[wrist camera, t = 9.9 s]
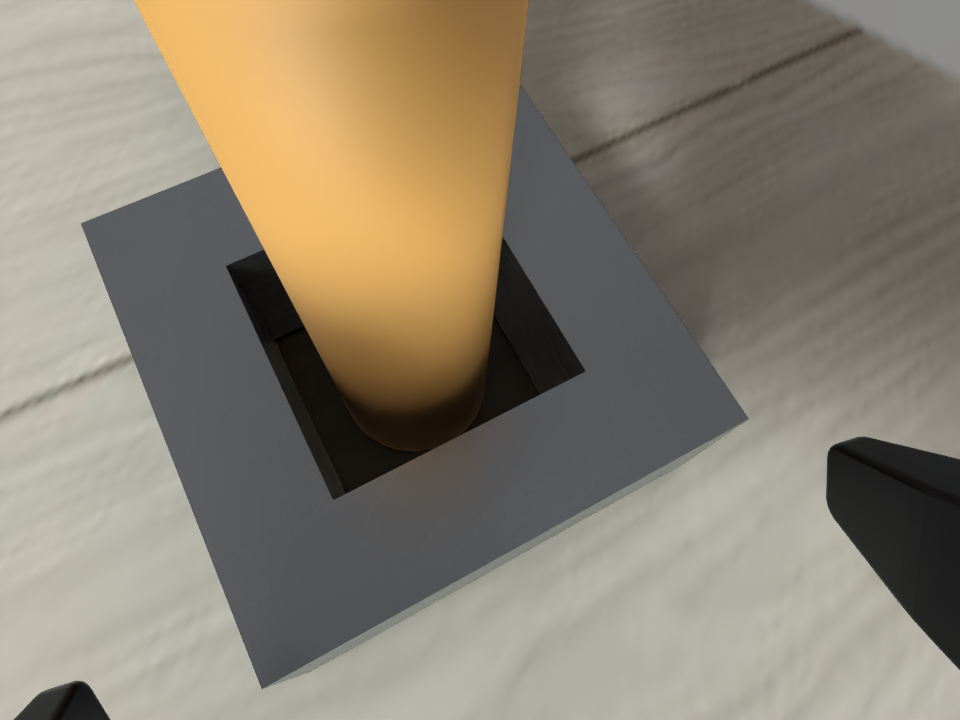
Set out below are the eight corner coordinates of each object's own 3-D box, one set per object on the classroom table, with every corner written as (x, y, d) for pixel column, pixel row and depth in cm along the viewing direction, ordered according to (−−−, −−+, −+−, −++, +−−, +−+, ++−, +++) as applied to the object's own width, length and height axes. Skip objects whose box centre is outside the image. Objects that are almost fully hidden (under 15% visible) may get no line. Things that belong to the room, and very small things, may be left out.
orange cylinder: (514, 374, 18) (633, -157, 6) (421, 480, 17) (322, 113, 5) (409, 292, 19) (315, -332, 6) (314, 389, 18) (-14, -134, 5)
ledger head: (685, 462, 17) (749, 418, 13) (310, 671, 15) (261, 689, 11) (375, -23, 22) (358, -152, 19) (68, 87, 21) (-19, -32, 17)
